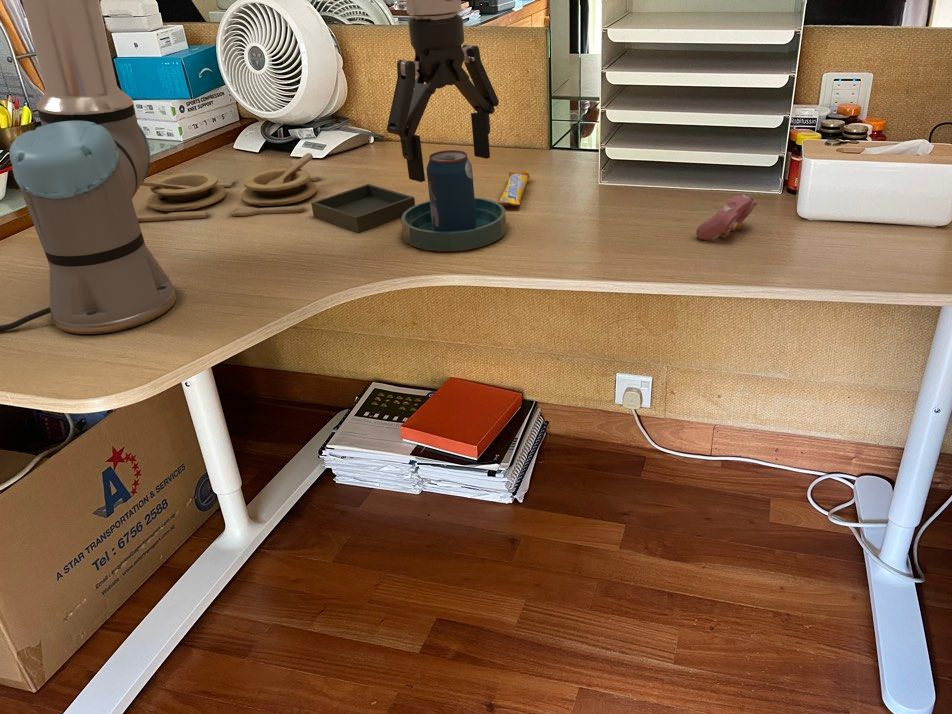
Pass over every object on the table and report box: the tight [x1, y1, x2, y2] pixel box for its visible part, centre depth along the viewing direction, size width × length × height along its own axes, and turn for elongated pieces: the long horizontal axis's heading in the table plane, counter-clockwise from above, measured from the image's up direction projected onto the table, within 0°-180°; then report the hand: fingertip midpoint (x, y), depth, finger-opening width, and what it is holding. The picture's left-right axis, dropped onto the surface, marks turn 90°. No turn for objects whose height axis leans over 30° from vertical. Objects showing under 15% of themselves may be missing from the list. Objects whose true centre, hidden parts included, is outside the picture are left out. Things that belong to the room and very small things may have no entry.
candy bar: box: [496, 171, 531, 207], centre depth 147 cm, size 17×4×2 cm, turn 174°
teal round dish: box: [400, 196, 508, 252], centre depth 132 cm, size 16×16×3 cm
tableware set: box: [137, 152, 320, 223], centre depth 149 cm, size 30×20×6 cm, turn 94°
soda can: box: [425, 149, 476, 232], centre depth 129 cm, size 7×7×12 cm
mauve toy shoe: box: [695, 193, 758, 240], centre depth 127 cm, size 10×5×7 cm, turn 143°
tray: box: [310, 183, 416, 233], centre depth 141 cm, size 12×12×2 cm
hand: (450, 168), depth 127 cm, fingers open, 13 cm apart
